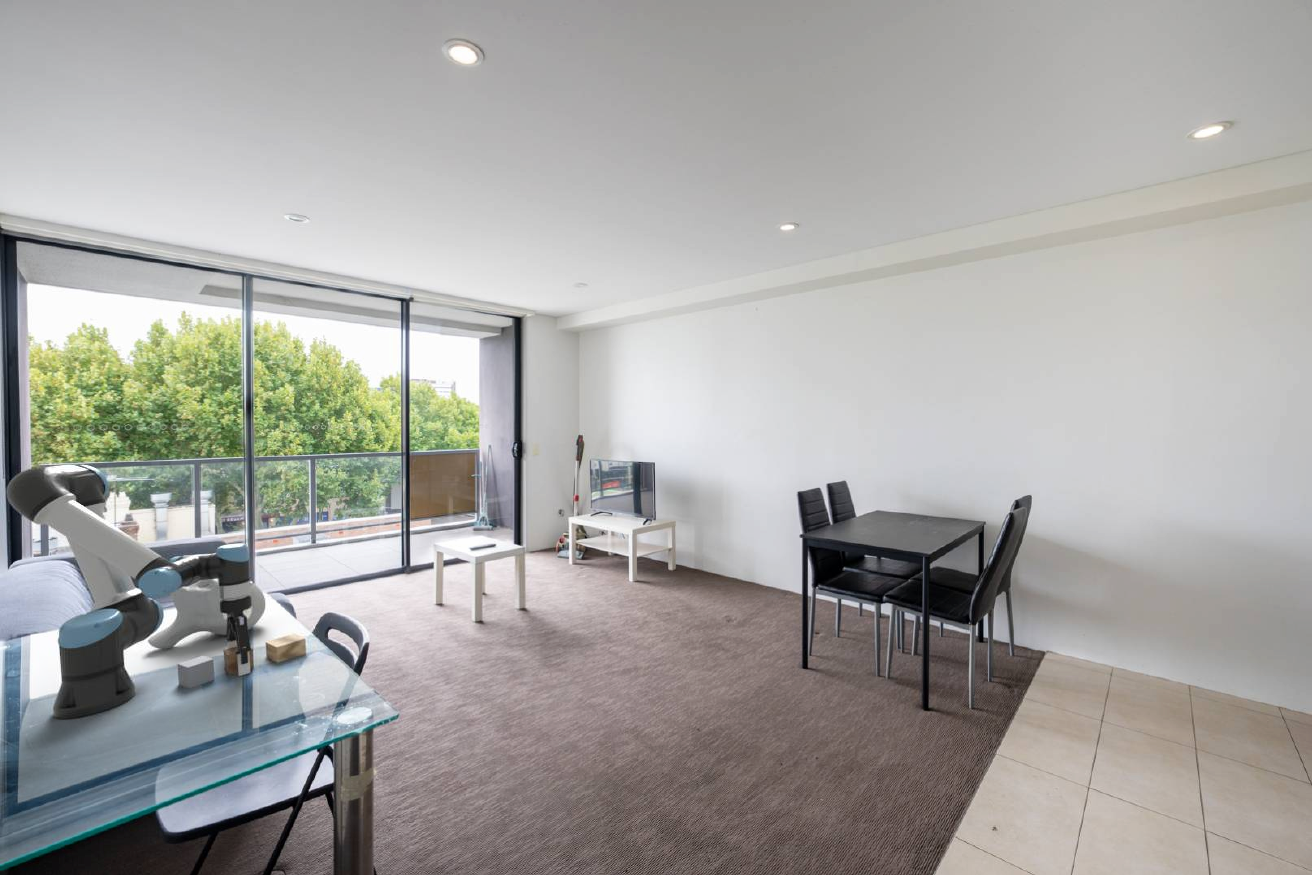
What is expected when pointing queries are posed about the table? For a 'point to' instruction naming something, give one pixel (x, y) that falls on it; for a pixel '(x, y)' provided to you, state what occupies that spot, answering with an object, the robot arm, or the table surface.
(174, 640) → the alien head
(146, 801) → the table surface
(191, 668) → the grey block
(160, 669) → the table surface
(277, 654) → the base block
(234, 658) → the walnut block
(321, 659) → the table surface
